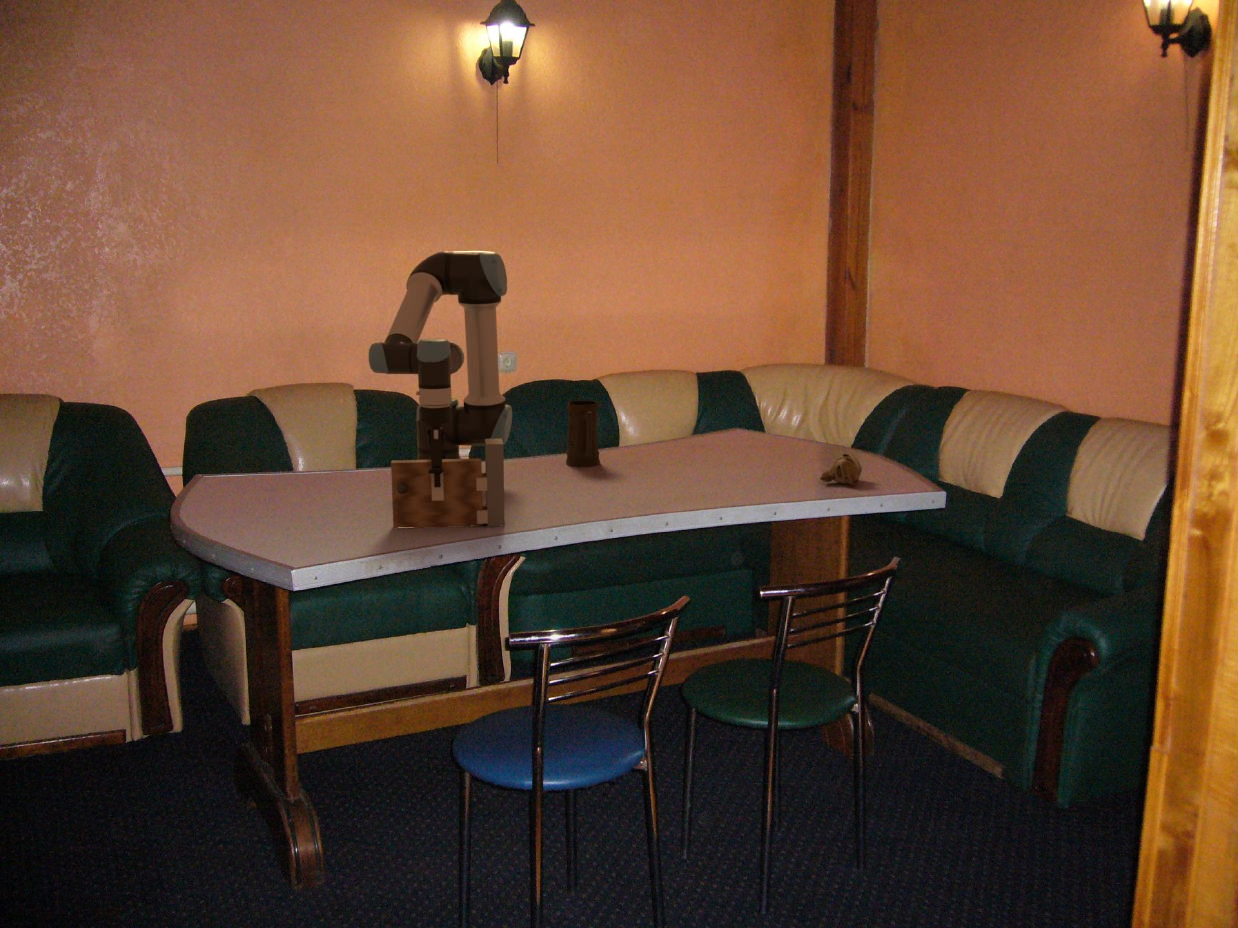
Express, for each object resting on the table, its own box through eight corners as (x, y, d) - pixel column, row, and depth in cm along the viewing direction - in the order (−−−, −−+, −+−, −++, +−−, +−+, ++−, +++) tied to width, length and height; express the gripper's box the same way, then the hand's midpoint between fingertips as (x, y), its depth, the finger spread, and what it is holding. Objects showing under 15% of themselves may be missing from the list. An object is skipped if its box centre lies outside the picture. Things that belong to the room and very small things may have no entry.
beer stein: (560, 461, 335) (561, 399, 330) (590, 458, 339) (592, 398, 334) (578, 473, 322) (580, 409, 317) (610, 470, 326) (612, 407, 321)
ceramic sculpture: (870, 450, 309) (855, 462, 297) (869, 479, 311) (854, 492, 299) (834, 447, 314) (818, 458, 302) (834, 475, 316) (817, 488, 304)
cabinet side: (477, 527, 255) (475, 445, 251) (476, 519, 263) (474, 439, 259) (504, 526, 256) (503, 444, 252) (502, 518, 264) (501, 438, 260)
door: (393, 530, 252) (390, 464, 249) (393, 525, 256) (391, 460, 253) (482, 527, 255) (481, 461, 252) (482, 522, 260) (480, 458, 256)
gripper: (419, 397, 262) (422, 482, 266) (418, 414, 238) (421, 506, 242) (450, 397, 263) (453, 481, 268) (452, 413, 239) (454, 505, 244)
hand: (437, 493), depth 255 cm, fingers open, 13 cm apart
